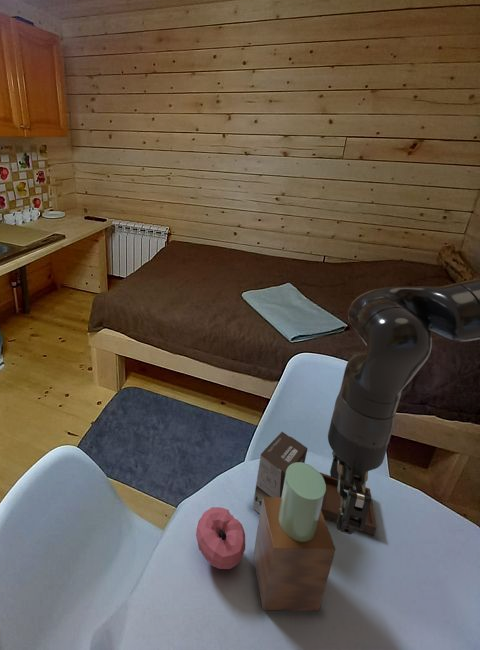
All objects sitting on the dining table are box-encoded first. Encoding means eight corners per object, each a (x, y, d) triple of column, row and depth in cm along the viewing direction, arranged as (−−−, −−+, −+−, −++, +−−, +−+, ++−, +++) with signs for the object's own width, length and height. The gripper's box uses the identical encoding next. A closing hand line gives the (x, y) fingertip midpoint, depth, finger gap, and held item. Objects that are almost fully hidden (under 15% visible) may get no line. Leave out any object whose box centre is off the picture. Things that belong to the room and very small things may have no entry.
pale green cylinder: (298, 497, 62) (306, 457, 59) (324, 532, 57) (334, 490, 54) (270, 510, 60) (277, 469, 57) (294, 548, 55) (304, 506, 52)
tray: (367, 496, 80) (369, 488, 79) (373, 536, 72) (376, 528, 71) (314, 478, 83) (315, 471, 83) (314, 514, 76) (316, 506, 75)
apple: (251, 561, 67) (256, 527, 64) (222, 599, 62) (226, 564, 58) (215, 521, 74) (218, 488, 71) (186, 551, 69) (187, 517, 65)
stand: (303, 557, 68) (316, 497, 62) (318, 611, 61) (335, 549, 55) (253, 556, 68) (262, 496, 62) (262, 610, 60) (274, 547, 55)
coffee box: (277, 530, 72) (287, 476, 67) (251, 507, 77) (259, 454, 71) (297, 499, 79) (308, 447, 73) (273, 480, 83) (281, 429, 78)
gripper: (404, 477, 42) (375, 560, 47) (378, 395, 55) (357, 468, 60) (338, 459, 44) (318, 541, 49) (327, 384, 57) (312, 456, 62)
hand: (339, 501), depth 55 cm, fingers open, 8 cm apart
